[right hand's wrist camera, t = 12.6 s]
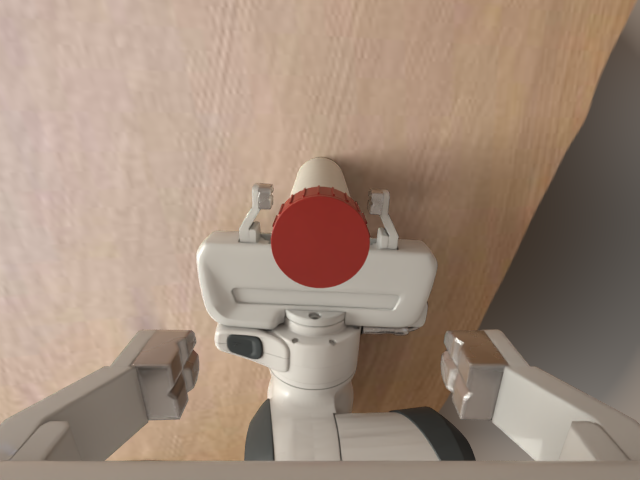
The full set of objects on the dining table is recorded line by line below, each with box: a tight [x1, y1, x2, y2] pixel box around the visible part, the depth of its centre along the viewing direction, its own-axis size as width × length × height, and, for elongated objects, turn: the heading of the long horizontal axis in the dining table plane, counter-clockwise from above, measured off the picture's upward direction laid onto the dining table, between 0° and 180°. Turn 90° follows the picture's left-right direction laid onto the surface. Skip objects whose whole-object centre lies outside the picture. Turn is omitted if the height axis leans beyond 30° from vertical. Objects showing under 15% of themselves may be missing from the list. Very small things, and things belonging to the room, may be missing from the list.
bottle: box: [290, 157, 351, 198], centre depth 26 cm, size 4×4×16 cm
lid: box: [270, 185, 370, 288], centre depth 19 cm, size 5×5×2 cm
